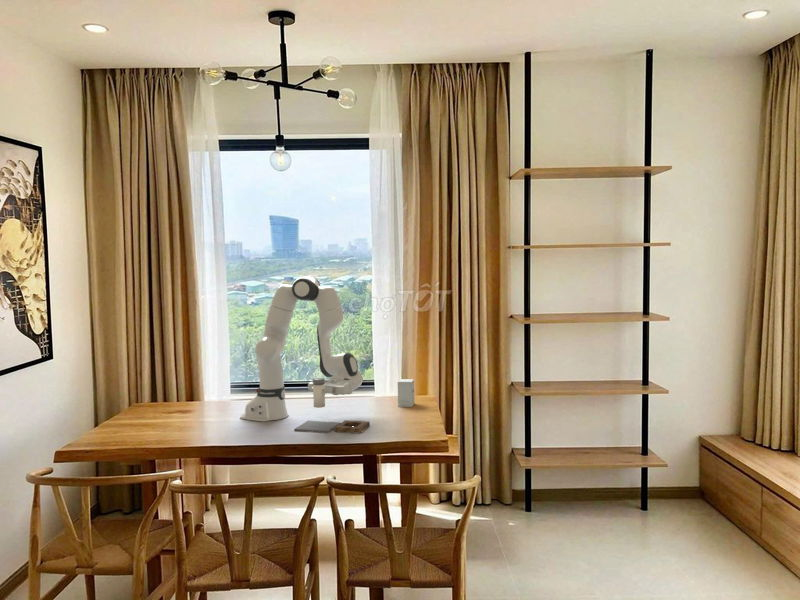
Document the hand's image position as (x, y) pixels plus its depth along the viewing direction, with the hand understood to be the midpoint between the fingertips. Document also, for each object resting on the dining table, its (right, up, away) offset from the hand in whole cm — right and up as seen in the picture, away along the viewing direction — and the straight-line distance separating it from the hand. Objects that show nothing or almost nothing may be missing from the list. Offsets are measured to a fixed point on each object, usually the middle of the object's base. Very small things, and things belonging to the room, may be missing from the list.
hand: (317, 390), depth 277 cm
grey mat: (0, -17, +2) cm, 17 cm away
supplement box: (+39, -13, +39) cm, 57 cm away
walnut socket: (+15, -16, -1) cm, 22 cm away
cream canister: (+1, -7, +1) cm, 7 cm away
